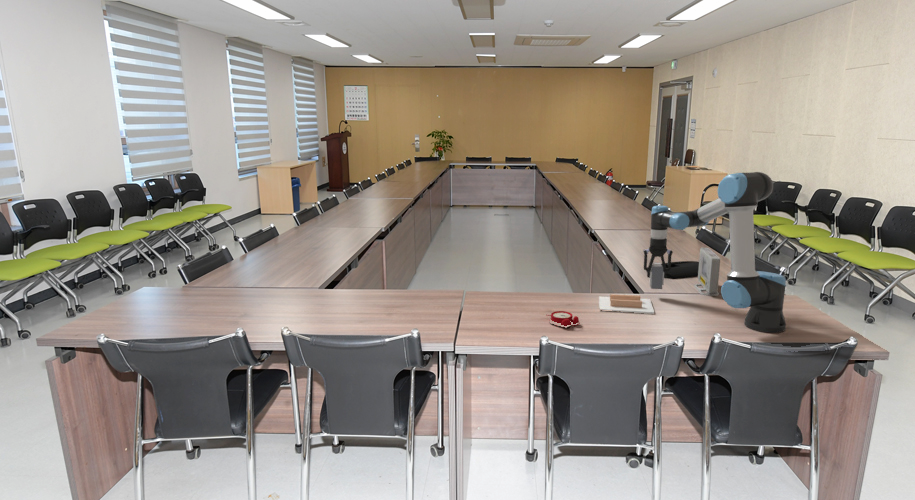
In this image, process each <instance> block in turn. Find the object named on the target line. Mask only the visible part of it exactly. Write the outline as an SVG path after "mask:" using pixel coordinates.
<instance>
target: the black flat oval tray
mask: <svg viewBox="0 0 915 500" xmlns="http://www.w3.org/2000/svg"><path fill="white" fill-rule="evenodd" d="M661 265H662V263H661ZM665 265H666V268H668V262H665ZM662 266H663V265H662ZM647 268H648V266H647ZM698 270H699V260H698V261H697V260H694V261H693V260H684V261H681V260H680V261H671V270H670V271H667V273H666V278H665V279H670V280H678V279H679V280H681V279H690V278H691V279H692V278H698ZM645 271H646V272H647V270H645ZM650 271H651V270H650ZM663 271H664V270H663Z"/></svg>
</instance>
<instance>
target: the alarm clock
mask: <svg viewBox="0 0 915 500" xmlns="http://www.w3.org/2000/svg"><path fill="white" fill-rule="evenodd" d="M545 316H548V317H550V319H551V320H552V321H554V322H557V323H561V325H564V326H567V325H571V322H573V324H576V323H578V324H577V325H576V326H578V325H580V324H581V322H580V320H579V317H578V315H577V316H576V315H575V316H573V314H572V313H571V312H568V311H564V310H557V311H553V312H551V314H546V315H545ZM570 321H571V322H570ZM573 326H575V325H572V326H571V327H573ZM576 326H575V327H576Z"/></svg>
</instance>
